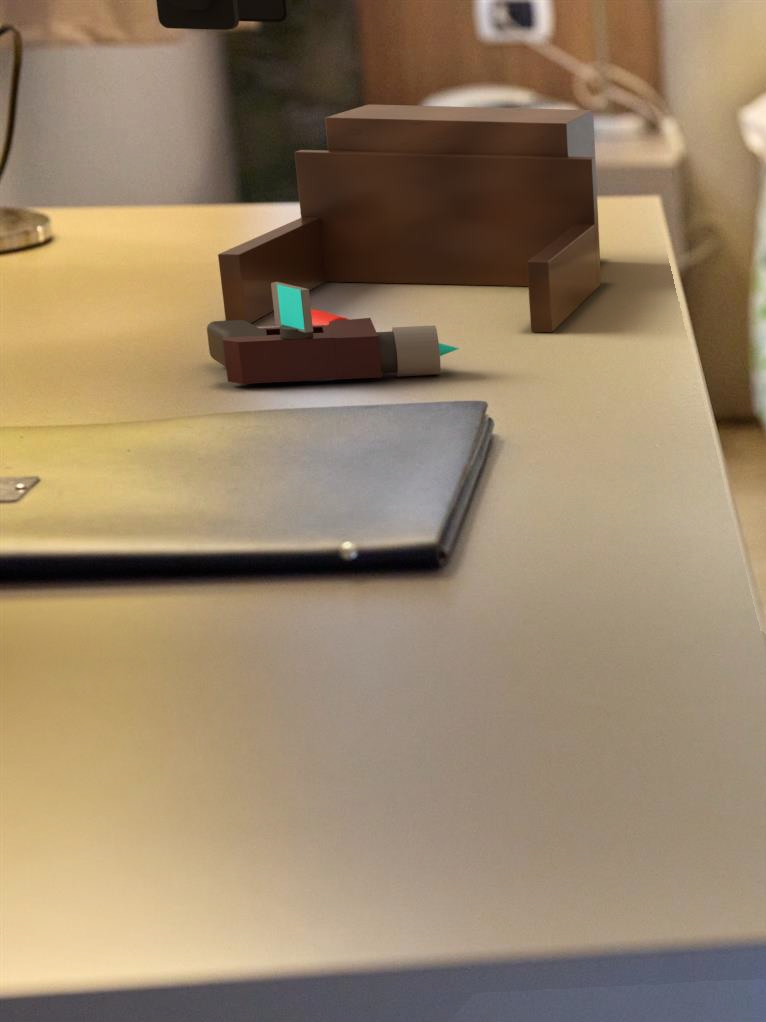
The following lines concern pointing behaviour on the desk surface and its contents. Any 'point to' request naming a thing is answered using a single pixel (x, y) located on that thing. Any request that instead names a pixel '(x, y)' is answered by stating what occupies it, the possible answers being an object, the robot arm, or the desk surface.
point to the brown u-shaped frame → (437, 208)
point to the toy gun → (319, 345)
